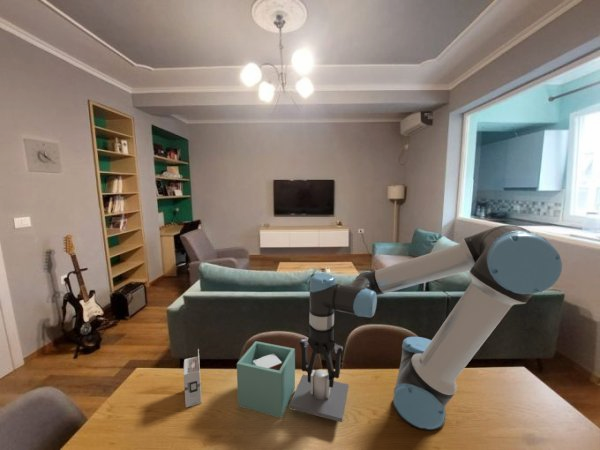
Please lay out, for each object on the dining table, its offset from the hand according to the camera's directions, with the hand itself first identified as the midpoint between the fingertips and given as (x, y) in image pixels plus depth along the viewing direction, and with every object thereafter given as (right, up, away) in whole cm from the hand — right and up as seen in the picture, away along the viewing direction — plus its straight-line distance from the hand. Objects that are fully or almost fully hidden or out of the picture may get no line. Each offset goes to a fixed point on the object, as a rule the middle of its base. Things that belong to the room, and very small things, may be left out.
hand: (320, 392), depth 85 cm
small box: (-17, -5, +5) cm, 19 cm away
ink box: (-43, -5, +5) cm, 43 cm away
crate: (-17, -5, +5) cm, 19 cm away
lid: (0, -3, 0) cm, 3 cm away
